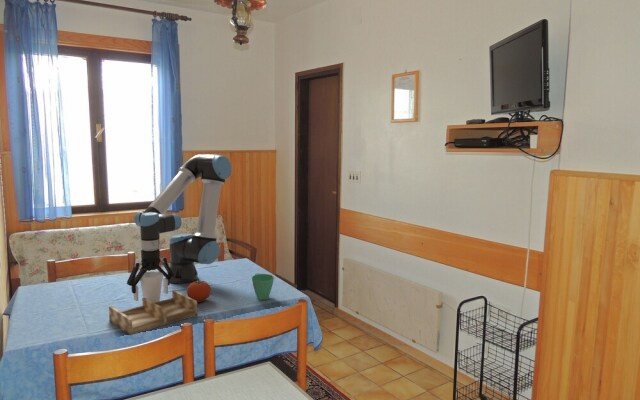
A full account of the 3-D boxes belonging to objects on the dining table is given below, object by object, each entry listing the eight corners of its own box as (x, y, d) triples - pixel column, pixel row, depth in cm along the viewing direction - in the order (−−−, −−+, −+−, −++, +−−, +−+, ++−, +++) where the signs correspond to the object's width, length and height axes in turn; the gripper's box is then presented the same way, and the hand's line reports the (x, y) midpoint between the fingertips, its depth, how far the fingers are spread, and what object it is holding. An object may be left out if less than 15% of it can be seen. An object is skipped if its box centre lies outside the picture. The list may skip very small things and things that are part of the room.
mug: (276, 300, 206) (276, 279, 204) (255, 303, 202) (255, 281, 200) (266, 290, 219) (266, 270, 218) (246, 292, 215) (246, 272, 214)
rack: (109, 321, 179) (108, 306, 178) (174, 303, 199) (174, 290, 199) (129, 335, 167) (129, 319, 166) (197, 315, 187) (196, 301, 186)
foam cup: (139, 307, 193) (138, 278, 191) (140, 300, 202) (139, 271, 200) (163, 305, 196) (162, 276, 194) (163, 298, 205) (162, 270, 203)
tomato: (214, 303, 201) (213, 281, 200) (190, 307, 196) (190, 284, 194) (206, 295, 210) (206, 274, 208) (184, 299, 204) (183, 278, 203)
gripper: (125, 255, 184) (126, 305, 187) (181, 246, 202) (181, 292, 205) (117, 251, 189) (118, 300, 192) (172, 243, 207) (173, 288, 210)
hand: (151, 296), depth 199 cm, fingers open, 13 cm apart
